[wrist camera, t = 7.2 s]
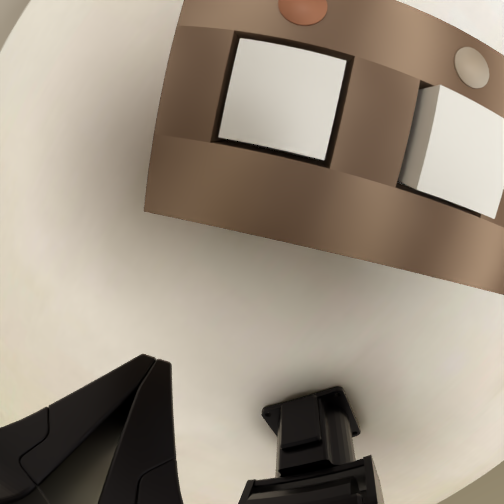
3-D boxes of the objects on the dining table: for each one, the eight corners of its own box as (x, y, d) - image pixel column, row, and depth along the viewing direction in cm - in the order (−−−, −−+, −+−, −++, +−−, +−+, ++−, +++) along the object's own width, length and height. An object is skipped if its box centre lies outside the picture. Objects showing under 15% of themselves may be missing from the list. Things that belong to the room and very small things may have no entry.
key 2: (334, 72, 14) (346, 60, 11) (316, 155, 15) (324, 160, 13) (247, 54, 14) (240, 38, 11) (229, 136, 15) (218, 137, 13)
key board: (569, 136, 13) (606, 143, 9) (527, 283, 18) (558, 310, 14) (213, -7, 13) (194, -40, 9) (171, 194, 18) (142, 212, 14)
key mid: (482, 124, 12) (517, 126, 10) (463, 203, 14) (494, 219, 11) (412, 91, 12) (440, 84, 10) (392, 178, 14) (416, 189, 11)
